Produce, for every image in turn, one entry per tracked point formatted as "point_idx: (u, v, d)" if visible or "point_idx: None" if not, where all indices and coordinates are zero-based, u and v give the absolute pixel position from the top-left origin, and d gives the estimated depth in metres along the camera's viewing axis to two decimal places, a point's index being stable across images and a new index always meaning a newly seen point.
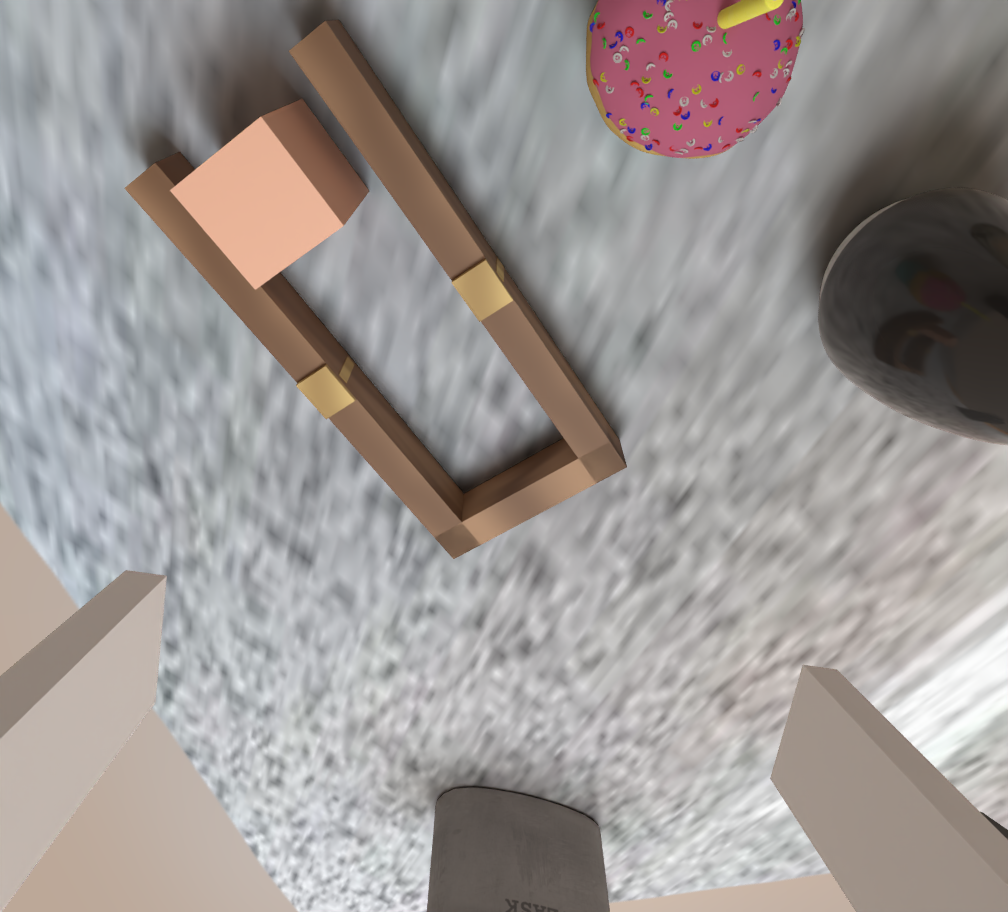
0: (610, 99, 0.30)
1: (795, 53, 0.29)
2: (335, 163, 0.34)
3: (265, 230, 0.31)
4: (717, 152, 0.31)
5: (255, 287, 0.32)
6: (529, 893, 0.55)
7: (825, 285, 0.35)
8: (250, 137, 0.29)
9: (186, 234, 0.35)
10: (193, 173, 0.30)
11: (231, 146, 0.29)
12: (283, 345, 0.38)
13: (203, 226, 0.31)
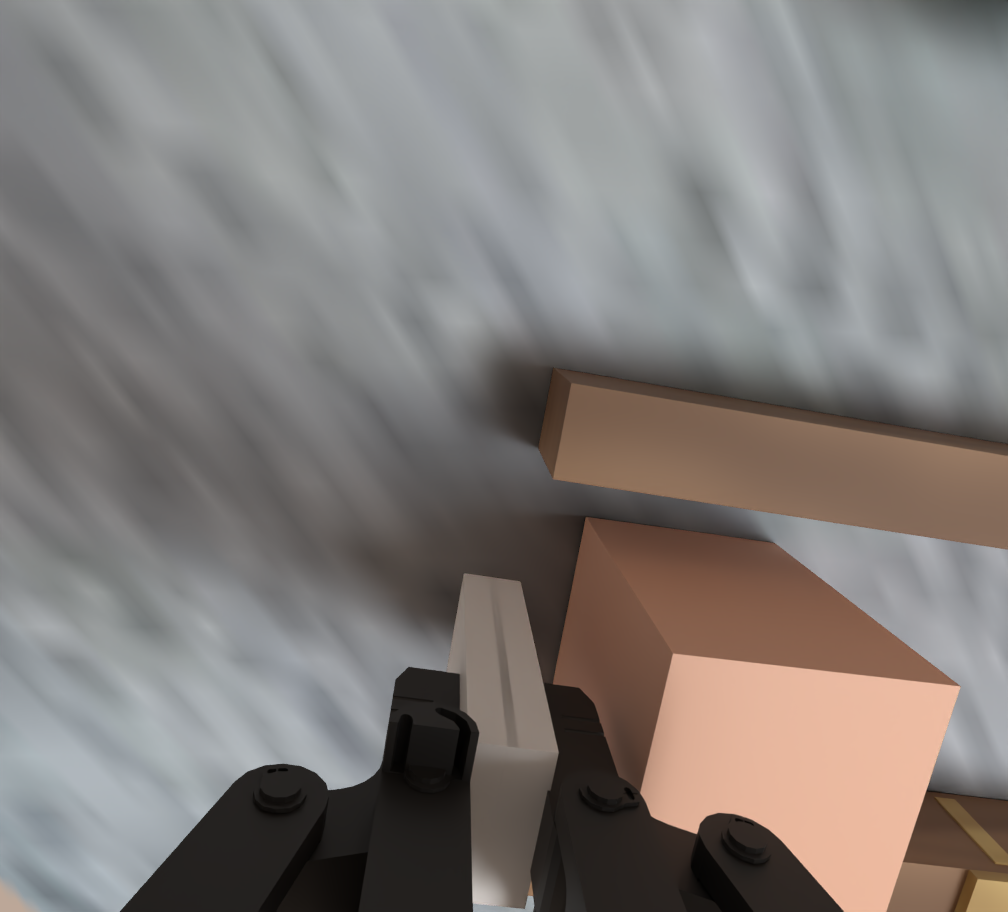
0: None
1: None
2: (733, 563, 0.17)
3: (824, 826, 0.13)
4: None
5: None
6: None
7: None
8: (681, 703, 0.12)
9: None
10: None
11: (661, 750, 0.12)
12: None
13: None
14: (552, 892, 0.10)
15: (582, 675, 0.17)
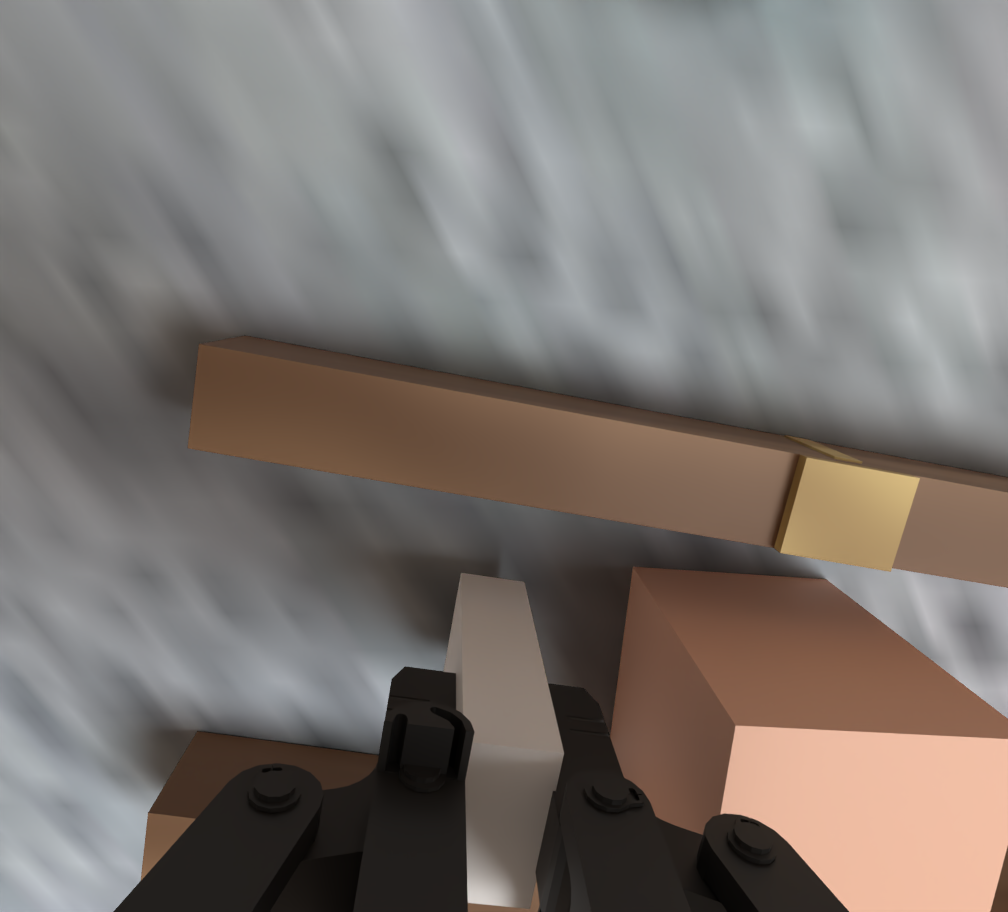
0: None
1: None
2: (787, 608, 0.17)
3: (904, 889, 0.12)
4: None
5: None
6: None
7: None
8: (747, 773, 0.12)
9: None
10: None
11: None
12: None
13: None
14: (557, 892, 0.10)
15: (640, 730, 0.17)
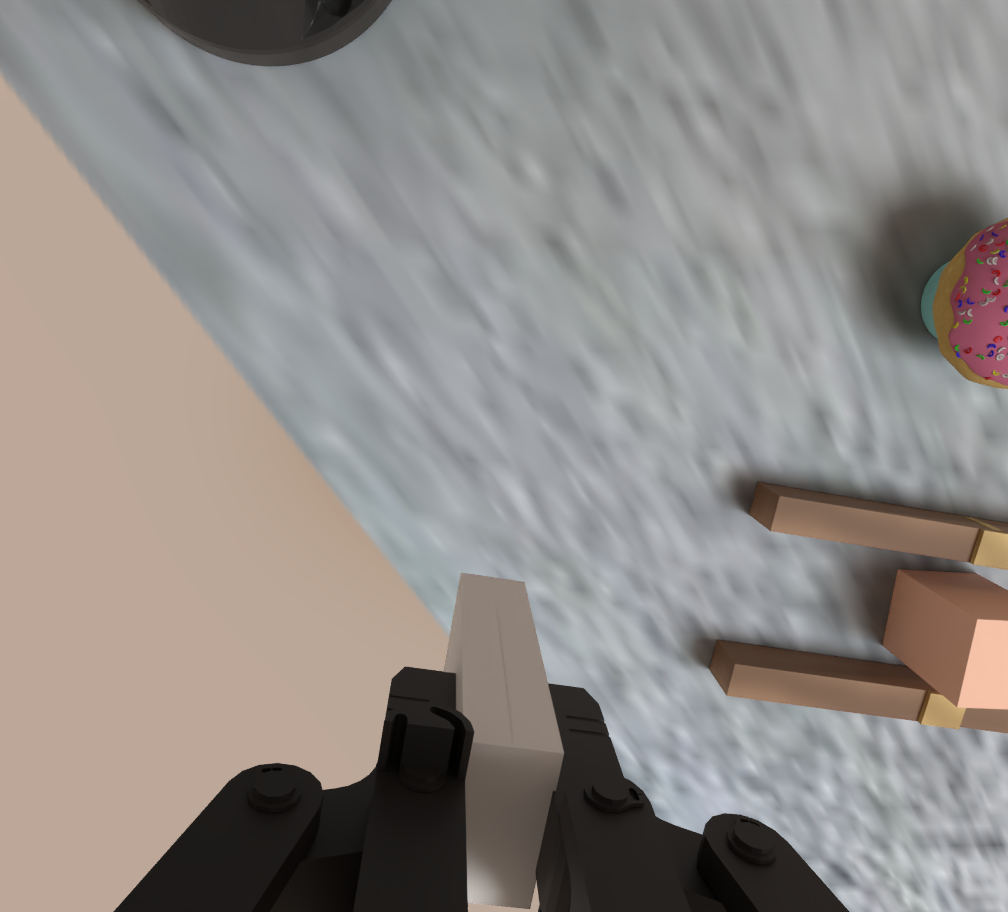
0: None
1: None
2: (969, 585, 0.43)
3: None
4: None
5: None
6: None
7: None
8: (980, 634, 0.38)
9: (780, 689, 0.42)
10: (963, 685, 0.38)
11: (973, 650, 0.38)
12: (890, 704, 0.43)
13: (990, 707, 0.39)
14: (557, 892, 0.10)
15: (912, 633, 0.43)
